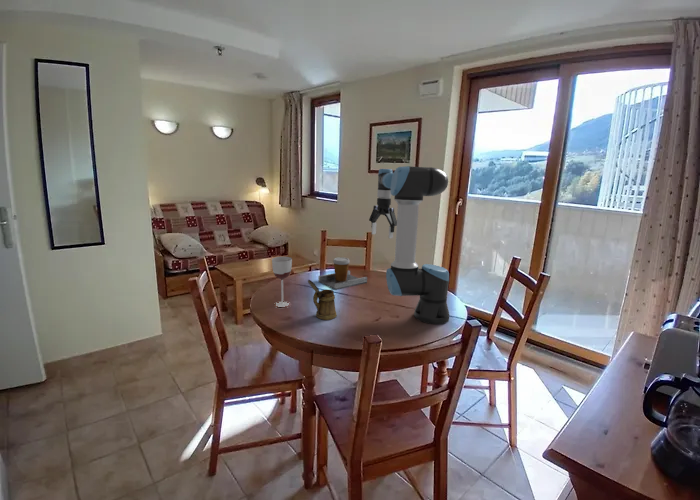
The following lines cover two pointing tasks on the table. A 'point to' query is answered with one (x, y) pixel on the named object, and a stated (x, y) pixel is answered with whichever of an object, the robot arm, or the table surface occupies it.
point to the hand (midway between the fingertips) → (382, 236)
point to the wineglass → (282, 273)
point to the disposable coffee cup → (341, 268)
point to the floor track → (333, 283)
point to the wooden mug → (324, 303)
